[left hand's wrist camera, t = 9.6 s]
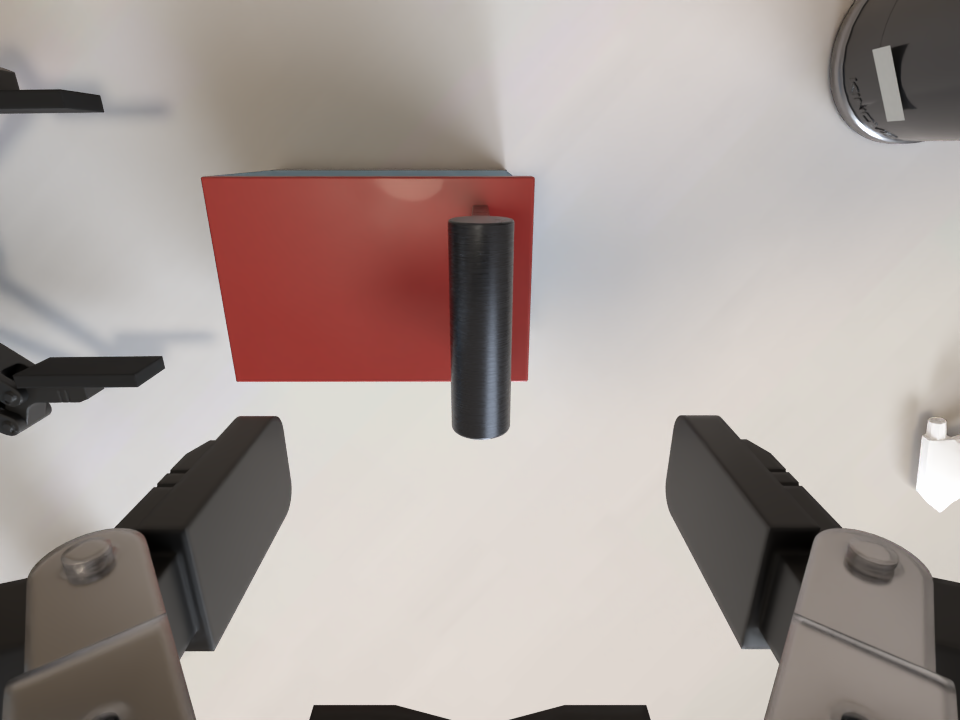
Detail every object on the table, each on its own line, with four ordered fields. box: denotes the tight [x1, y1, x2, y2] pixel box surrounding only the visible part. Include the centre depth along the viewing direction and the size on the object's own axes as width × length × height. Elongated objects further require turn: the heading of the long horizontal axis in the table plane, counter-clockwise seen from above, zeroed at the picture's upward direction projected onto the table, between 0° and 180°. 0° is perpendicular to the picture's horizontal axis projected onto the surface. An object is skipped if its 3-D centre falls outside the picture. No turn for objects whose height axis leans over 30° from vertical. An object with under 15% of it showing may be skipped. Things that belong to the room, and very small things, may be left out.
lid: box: [201, 176, 535, 440], centre depth 22 cm, size 14×10×9 cm
